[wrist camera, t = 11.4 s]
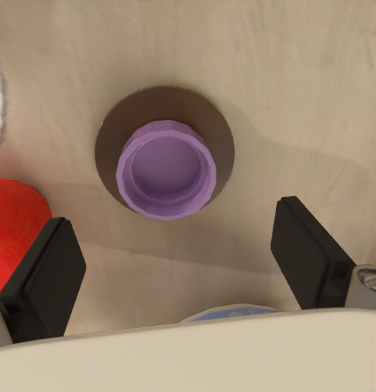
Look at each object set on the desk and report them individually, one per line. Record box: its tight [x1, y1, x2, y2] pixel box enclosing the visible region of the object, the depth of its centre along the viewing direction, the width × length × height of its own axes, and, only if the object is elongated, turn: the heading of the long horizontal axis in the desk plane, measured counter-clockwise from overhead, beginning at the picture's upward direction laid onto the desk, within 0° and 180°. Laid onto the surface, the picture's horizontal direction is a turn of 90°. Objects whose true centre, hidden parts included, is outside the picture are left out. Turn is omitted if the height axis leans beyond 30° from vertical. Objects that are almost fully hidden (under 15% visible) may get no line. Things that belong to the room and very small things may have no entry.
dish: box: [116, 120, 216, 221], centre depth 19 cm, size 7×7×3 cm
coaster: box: [95, 86, 234, 213], centre depth 20 cm, size 11×11×1 cm
